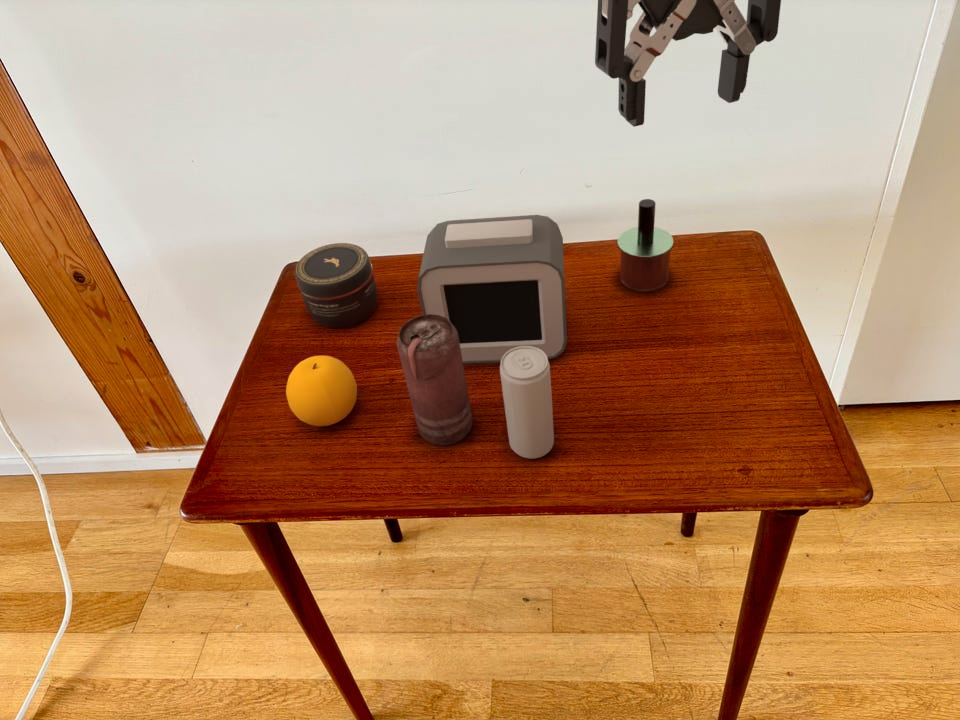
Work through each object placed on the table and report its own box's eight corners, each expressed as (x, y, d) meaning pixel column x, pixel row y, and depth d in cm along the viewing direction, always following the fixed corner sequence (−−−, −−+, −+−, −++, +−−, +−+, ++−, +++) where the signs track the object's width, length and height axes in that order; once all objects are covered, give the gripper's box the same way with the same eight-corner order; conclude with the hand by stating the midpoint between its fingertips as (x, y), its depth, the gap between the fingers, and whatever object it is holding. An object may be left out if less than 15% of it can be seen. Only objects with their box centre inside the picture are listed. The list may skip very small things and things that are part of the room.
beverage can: (543, 421, 78) (536, 338, 70) (562, 452, 74) (558, 368, 66) (502, 436, 77) (491, 354, 69) (520, 468, 73) (510, 385, 65)
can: (410, 445, 77) (384, 349, 68) (430, 404, 82) (408, 308, 73) (462, 453, 76) (443, 356, 66) (480, 411, 80) (464, 314, 71)
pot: (654, 260, 98) (656, 226, 94) (676, 284, 93) (679, 249, 89) (612, 272, 97) (613, 238, 93) (633, 297, 92) (634, 262, 89)
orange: (295, 396, 85) (276, 349, 80) (359, 381, 86) (345, 334, 81) (296, 444, 80) (276, 397, 75) (365, 428, 80) (350, 380, 75)
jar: (327, 284, 102) (313, 239, 97) (391, 289, 100) (380, 243, 94) (296, 328, 95) (279, 282, 90) (364, 335, 93) (350, 287, 88)
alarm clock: (433, 365, 87) (410, 258, 76) (442, 307, 95) (423, 204, 85) (567, 359, 85) (563, 249, 74) (565, 301, 93) (560, 195, 83)
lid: (656, 228, 95) (659, 183, 90) (683, 254, 90) (687, 208, 85) (608, 241, 94) (608, 197, 89) (632, 269, 89) (634, 223, 84)
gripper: (627, -98, 44) (622, 149, 54) (830, -139, 46) (786, 107, 56) (578, -114, 49) (582, 114, 60) (761, -149, 51) (733, 76, 62)
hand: (681, 110), depth 58 cm, fingers open, 8 cm apart
